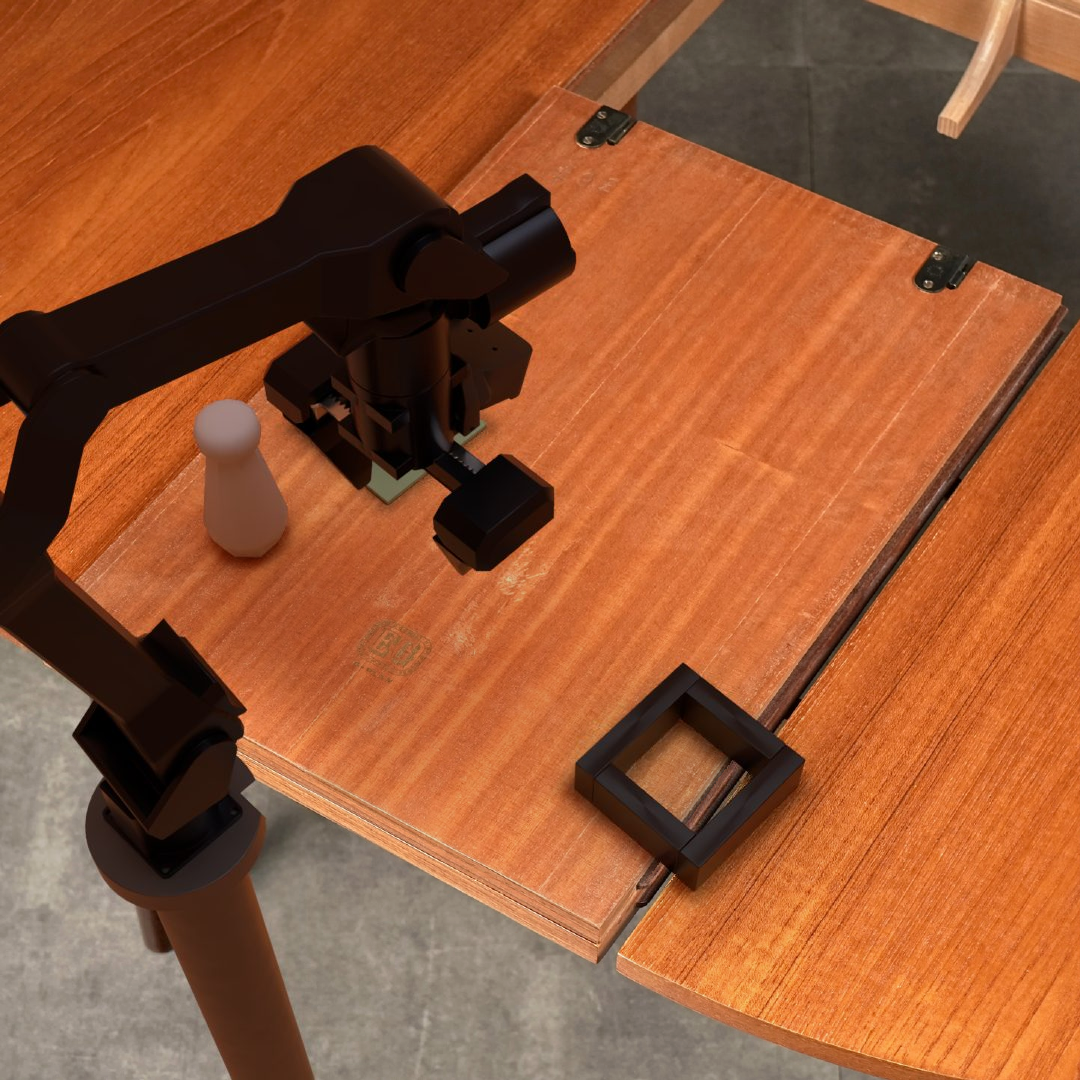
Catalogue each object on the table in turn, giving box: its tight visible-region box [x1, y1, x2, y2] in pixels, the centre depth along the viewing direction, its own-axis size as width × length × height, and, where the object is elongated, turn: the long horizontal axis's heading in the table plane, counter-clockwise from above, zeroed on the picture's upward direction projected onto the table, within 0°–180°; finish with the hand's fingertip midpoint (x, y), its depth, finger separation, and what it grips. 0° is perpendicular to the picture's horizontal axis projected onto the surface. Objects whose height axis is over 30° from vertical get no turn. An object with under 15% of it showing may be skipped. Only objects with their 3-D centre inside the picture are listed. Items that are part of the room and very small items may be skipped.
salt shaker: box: [192, 398, 289, 558], centre depth 114 cm, size 6×6×13 cm
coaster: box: [294, 418, 488, 505], centre depth 125 cm, size 10×10×1 cm
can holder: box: [573, 661, 806, 892], centre depth 107 cm, size 10×10×4 cm
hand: (414, 526), depth 104 cm, fingers open, 9 cm apart
